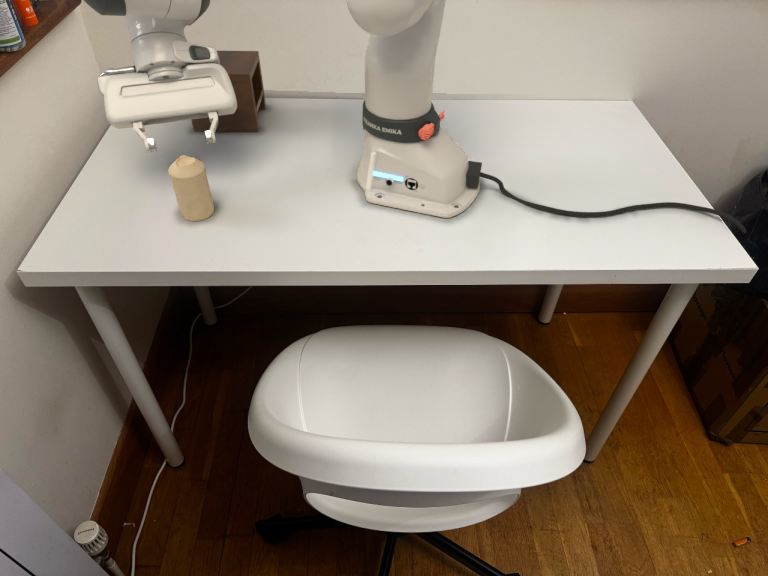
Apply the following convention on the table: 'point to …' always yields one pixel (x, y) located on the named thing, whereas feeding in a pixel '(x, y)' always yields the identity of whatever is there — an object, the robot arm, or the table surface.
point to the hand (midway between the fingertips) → (182, 146)
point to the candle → (191, 188)
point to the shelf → (240, 93)
